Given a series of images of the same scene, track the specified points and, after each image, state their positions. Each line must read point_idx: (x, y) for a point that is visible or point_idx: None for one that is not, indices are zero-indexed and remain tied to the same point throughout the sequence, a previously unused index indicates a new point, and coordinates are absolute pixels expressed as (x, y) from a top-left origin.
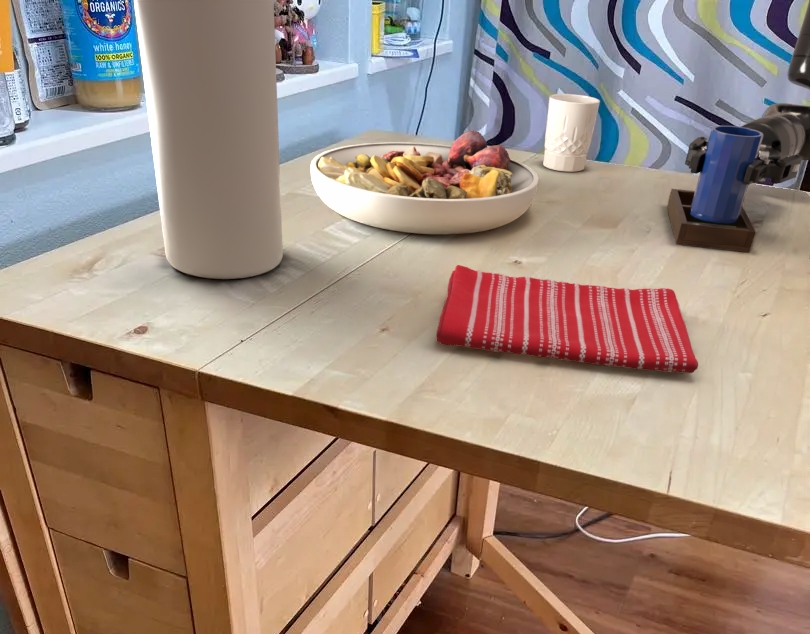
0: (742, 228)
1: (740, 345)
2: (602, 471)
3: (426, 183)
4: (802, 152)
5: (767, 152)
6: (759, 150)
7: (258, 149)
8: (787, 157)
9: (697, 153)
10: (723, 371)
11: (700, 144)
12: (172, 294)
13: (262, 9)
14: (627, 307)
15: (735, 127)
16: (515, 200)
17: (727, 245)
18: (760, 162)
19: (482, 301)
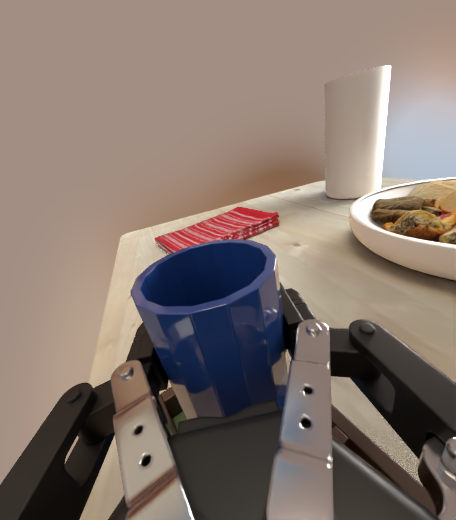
0: (173, 392)
1: (142, 267)
2: (167, 222)
3: (403, 198)
4: None
5: (120, 411)
6: (150, 395)
7: (327, 146)
8: (25, 498)
9: (280, 285)
10: (147, 253)
11: (369, 351)
12: (321, 190)
13: (331, 88)
14: (199, 243)
15: (234, 293)
16: (359, 228)
17: None
18: (141, 341)
19: (248, 218)
